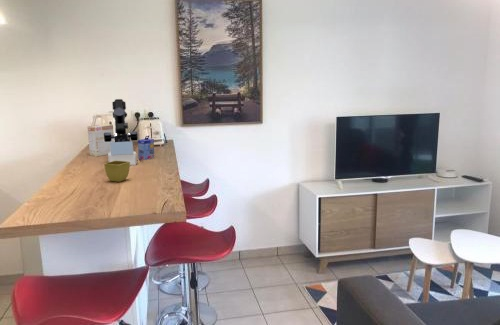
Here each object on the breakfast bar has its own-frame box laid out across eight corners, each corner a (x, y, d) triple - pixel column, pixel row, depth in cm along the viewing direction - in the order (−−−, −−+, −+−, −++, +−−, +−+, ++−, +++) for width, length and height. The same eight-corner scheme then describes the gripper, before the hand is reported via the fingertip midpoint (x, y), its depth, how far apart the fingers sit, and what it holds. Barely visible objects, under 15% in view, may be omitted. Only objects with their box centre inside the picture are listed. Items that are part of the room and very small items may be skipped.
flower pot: (131, 179, 201) (130, 161, 199) (120, 183, 193) (119, 164, 191) (116, 178, 204) (115, 160, 202) (104, 182, 196) (103, 163, 194)
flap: (111, 154, 230) (110, 142, 231) (133, 153, 234) (132, 141, 234) (111, 154, 230) (110, 142, 230) (133, 153, 233) (132, 141, 234)
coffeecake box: (109, 152, 280) (106, 124, 276) (115, 153, 276) (113, 124, 272) (89, 155, 268) (86, 126, 264) (95, 156, 264) (93, 126, 260)
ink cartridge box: (145, 160, 250) (144, 136, 247) (138, 159, 252) (136, 136, 250) (155, 157, 259) (153, 134, 256) (147, 157, 261) (146, 134, 258)
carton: (109, 162, 243) (108, 152, 242) (135, 161, 248) (135, 150, 246) (108, 166, 231) (108, 155, 230) (136, 165, 236) (136, 153, 235)
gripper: (102, 118, 236) (103, 140, 227) (136, 117, 241) (138, 138, 233) (104, 130, 244) (105, 152, 236) (136, 129, 250) (138, 150, 242)
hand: (121, 147), depth 236 cm, fingers closed
